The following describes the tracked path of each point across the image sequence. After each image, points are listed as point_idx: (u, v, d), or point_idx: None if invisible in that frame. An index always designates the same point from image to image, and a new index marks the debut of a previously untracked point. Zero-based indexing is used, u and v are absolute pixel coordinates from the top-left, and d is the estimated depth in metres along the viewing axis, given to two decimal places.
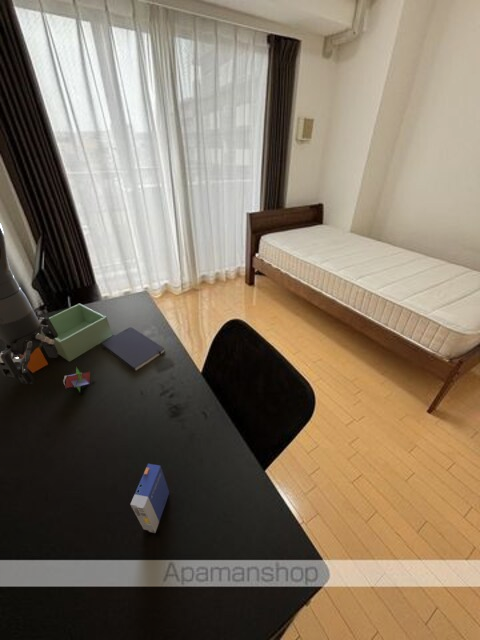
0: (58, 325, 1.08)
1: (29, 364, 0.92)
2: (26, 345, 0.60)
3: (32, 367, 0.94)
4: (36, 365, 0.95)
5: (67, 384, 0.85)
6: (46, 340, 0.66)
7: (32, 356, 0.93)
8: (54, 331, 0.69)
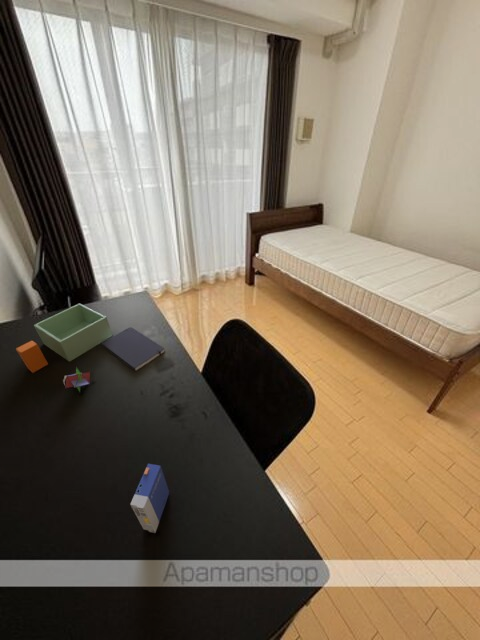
0: (58, 325, 1.08)
1: (29, 364, 0.92)
2: None
3: (32, 367, 0.94)
4: (36, 365, 0.95)
5: (67, 384, 0.85)
6: None
7: (32, 356, 0.93)
8: None
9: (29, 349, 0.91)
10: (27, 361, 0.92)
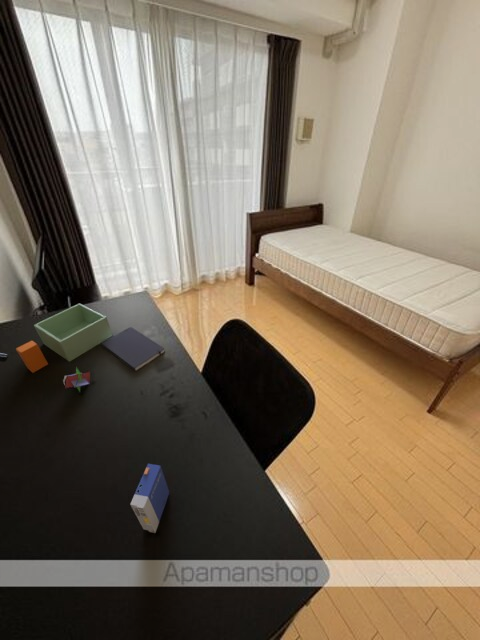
0: (58, 325, 1.08)
1: (29, 364, 0.92)
2: None
3: (32, 367, 0.94)
4: (36, 365, 0.95)
5: (67, 384, 0.85)
6: None
7: (32, 356, 0.93)
8: None
9: (29, 349, 0.91)
10: (27, 361, 0.92)
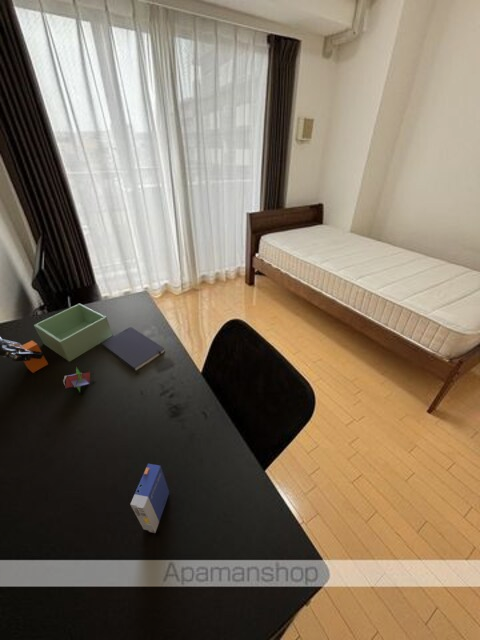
0: (58, 325, 1.08)
1: (29, 364, 0.92)
2: None
3: (32, 367, 0.94)
4: (36, 365, 0.95)
5: (67, 384, 0.85)
6: None
7: None
8: None
9: (29, 349, 0.91)
10: (27, 361, 0.92)
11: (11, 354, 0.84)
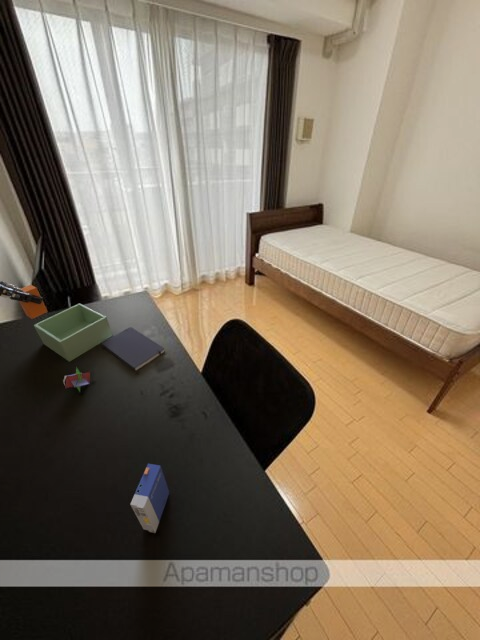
0: (58, 325, 1.08)
1: (28, 309, 0.88)
2: None
3: (31, 312, 0.89)
4: (35, 311, 0.90)
5: (67, 384, 0.85)
6: None
7: None
8: None
9: (28, 292, 0.86)
10: (25, 305, 0.87)
11: (8, 292, 0.79)
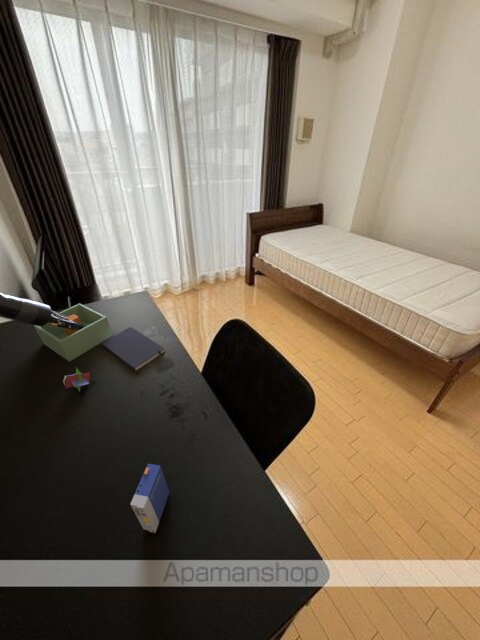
0: None
1: None
2: None
3: None
4: None
5: (67, 384, 0.85)
6: None
7: None
8: (68, 328, 0.97)
9: None
10: (70, 332, 1.03)
11: (56, 321, 0.94)
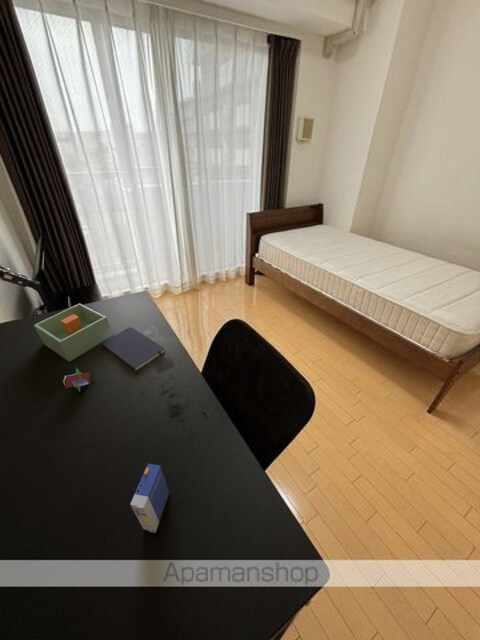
0: (58, 325, 1.08)
1: None
2: None
3: None
4: None
5: (67, 384, 0.85)
6: None
7: (75, 328, 1.04)
8: None
9: (72, 321, 1.02)
10: (70, 332, 1.03)
11: (2, 274, 0.78)
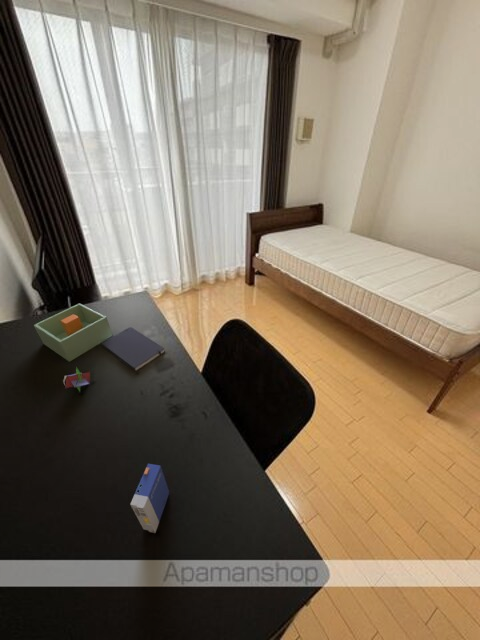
0: (58, 325, 1.08)
1: None
2: None
3: None
4: None
5: (67, 384, 0.85)
6: None
7: (75, 328, 1.04)
8: None
9: (72, 321, 1.02)
10: (70, 332, 1.03)
11: None
